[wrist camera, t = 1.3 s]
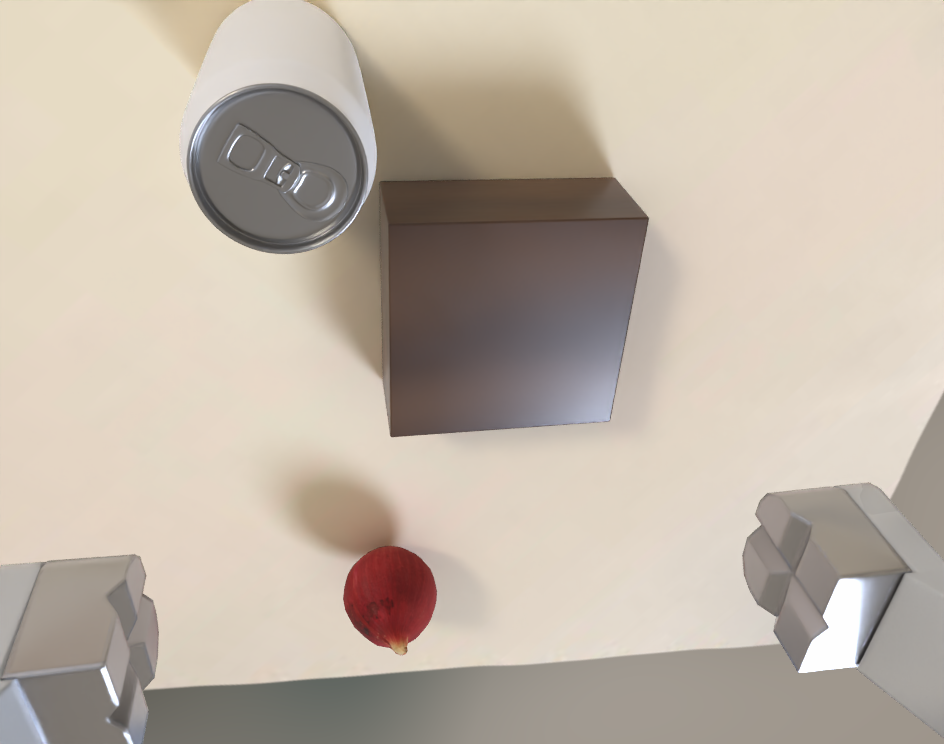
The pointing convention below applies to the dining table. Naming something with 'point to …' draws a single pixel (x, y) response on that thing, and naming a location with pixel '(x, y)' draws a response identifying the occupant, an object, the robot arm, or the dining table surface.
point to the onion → (390, 597)
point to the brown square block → (505, 301)
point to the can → (279, 129)
